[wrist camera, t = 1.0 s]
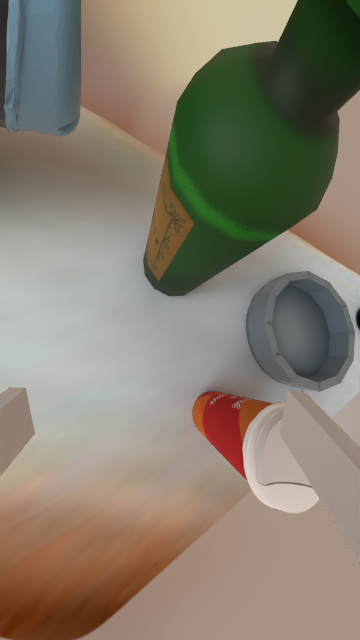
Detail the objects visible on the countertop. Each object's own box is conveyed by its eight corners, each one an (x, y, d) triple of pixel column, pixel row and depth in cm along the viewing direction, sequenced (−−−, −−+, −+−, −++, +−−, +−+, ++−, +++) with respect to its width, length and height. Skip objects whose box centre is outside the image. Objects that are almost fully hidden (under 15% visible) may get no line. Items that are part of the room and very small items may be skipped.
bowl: (234, 287, 33) (252, 277, 29) (311, 277, 39) (334, 268, 35) (262, 399, 31) (286, 406, 27) (338, 369, 37) (366, 371, 33)
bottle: (166, 222, 31) (476, -516, 5) (216, 270, 32) (661, -88, 6) (118, 268, 27) (311, -1687, 1) (177, 319, 29) (832, -33, 3)
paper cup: (242, 399, 30) (344, 432, 17) (220, 452, 28) (320, 538, 15) (200, 373, 29) (276, 387, 15) (173, 426, 26) (237, 497, 13)
